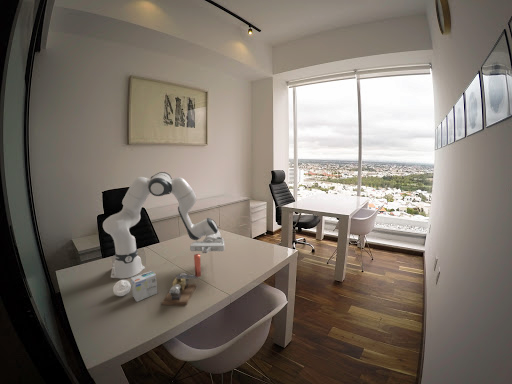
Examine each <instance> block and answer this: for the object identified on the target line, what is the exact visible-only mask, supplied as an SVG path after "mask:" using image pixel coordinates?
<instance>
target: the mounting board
mask: <svg viewBox="0 0 512 384" xmlns="http://www.w3.org/2000/svg"><path fill="white" fill-rule="evenodd" d="M196 288H197V284H196V283H188V286H187V288H184V290H183V291H181V298H180V300H172V299H171V295H170V293H169V292H168V293H167V294H166V295H165V297H164V299H163V300H162V301H161V305H162V306H187V305H188V304H189V301H190V299H191V297H192V295H193V294H194V291H195V290H196Z"/></svg>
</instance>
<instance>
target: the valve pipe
mask: <svg viewBox="0 0 512 384" xmlns="http://www.w3.org/2000/svg"><path fill="white" fill-rule="evenodd" d="M180 274H181V275H188V273H186V272H182V273H180ZM188 280H189V278H182V279H181V280H176V277H175V278H174V279H173V281H172V287H171V288H170V289H169V292H168V293H170V295H171V299H172V300H180V298H181V291H183V290H184V288H187V286H188V284H189V282H188Z"/></svg>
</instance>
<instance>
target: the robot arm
mask: <svg viewBox="0 0 512 384" xmlns="http://www.w3.org/2000/svg"><path fill="white" fill-rule="evenodd" d="M150 194H151V195H152V196H154V197H162V196H166V195H170V194H172V195H173V196H174V197H175V199H176V200H177V202H178V203H177V204H178V206H177V211H178V215H179V216H180V219H181V221H182V223H183V225H184V227H185V229H186V232H187V235H188V238H190V240H193V242H192V243H191V244H190V245H189V250H190V252H201V254H208V253H209V252H224V251H225V249H226V246H225V240H224V237H221V232H220V230H219V227H218V224H217V223H216V221H215V220H214V219H212V218H209V217H206V218H205V219H203V220H201V221H200V222H197V223H195V224H194V223H192V219H191V218H190V217H191V216H189V211H190V210H191V209H192V208H193V207H194V206H195V204H196V202H197V194H196V193H195V190H194V189H193V188H192V186H191V185H190V183H188V182H187V181H186V179H185V178H183V177H179V176H178V177H175V178H173V179H172V176H171V174H169V173H168V172H165V171H160V172H157V173H155V174H154V175H152V176H150V178H148V177H146V176H145V177H144V176H138V177H137V178H135V179H134V181H133V182H132V183H131V184H130V186H129V188H128V189H127V191H126V193H125V196H124V197H123V199H122V202H121V204H122V205H123V206H122V209H121V210H119V212H117V213H114V214H112V215H109V216H108V217H107V218H106V219H105V220H104V221H103V222H102V228H103V230H104V232H105V233H107V234H108V235H110V236H111V238H112V240H113V243H114V250H115V254H114V258H115V260H114V262H112V263H111V267H112V268H111V272H110V278H111V279H129V278H132V277H135V276H138V275H139V274H140V273H141V272H142V271H143V270H144V269H146V268H145V266H144V265H143V264H142V259H141V257H140V256H139V255H138V253H139V251H138V249H137V243H136V238H135V237H136V236H134V235H132V234H131V232H130V229H131V228H132V227H134V226H136V225H137V224H138V223H139V222H140V220H141V218H142V217H141V211H142V208H143V207H144V204H145V202H146V201H147V200H148V197H149V195H150ZM203 237H204V239H203V240H201V241H199V240H200V239H201V238H203Z"/></svg>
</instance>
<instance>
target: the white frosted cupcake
mask: <svg viewBox="0 0 512 384" xmlns="http://www.w3.org/2000/svg"><path fill="white" fill-rule="evenodd" d="M112 290H113V294H114V295H115V296H116V297H124V296H126V295H128V294H129V292H130V291H131V290H132V284H131V281H129V280H127V279H120V280H119V281H118V280H117V282H116V283H115V284H114V285H113V288H112Z"/></svg>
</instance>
